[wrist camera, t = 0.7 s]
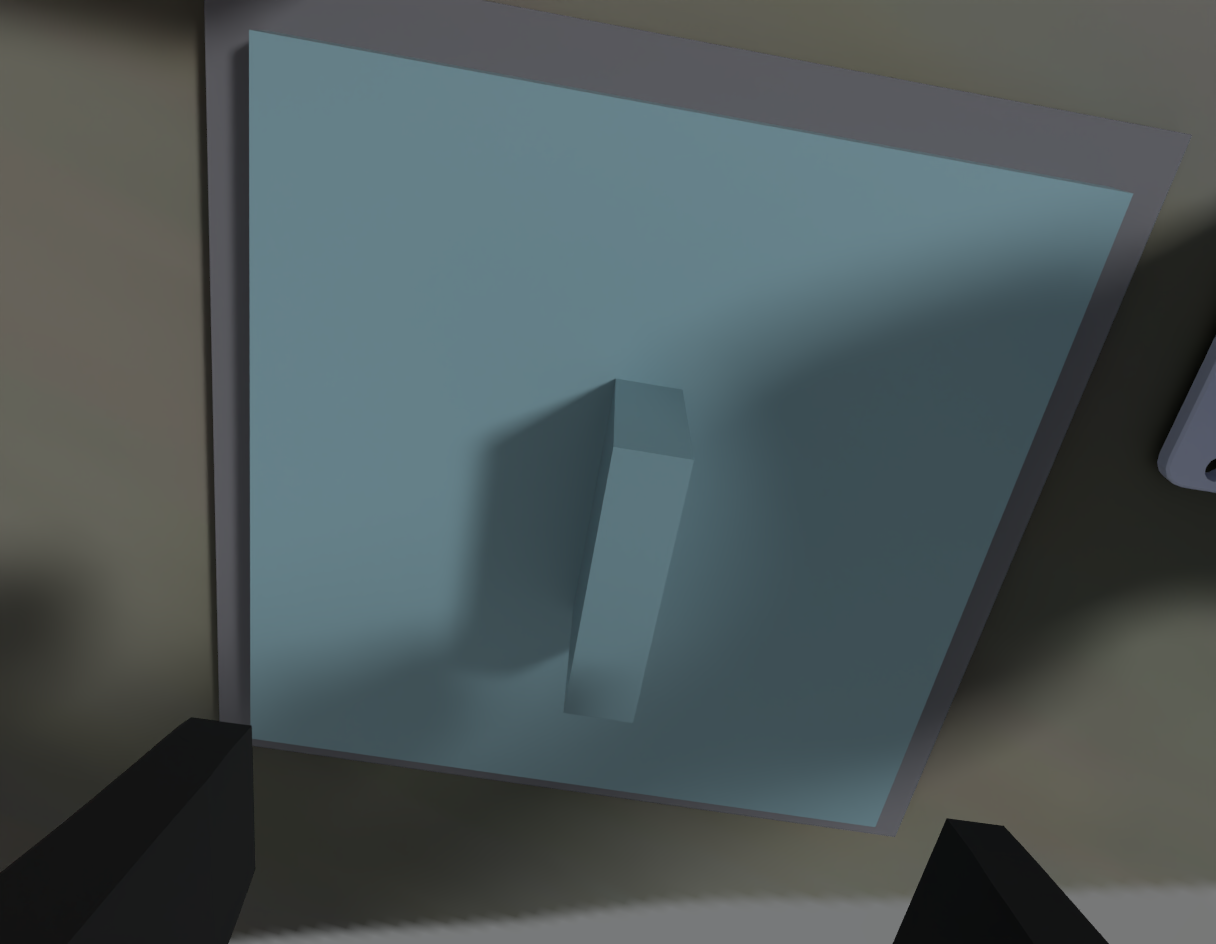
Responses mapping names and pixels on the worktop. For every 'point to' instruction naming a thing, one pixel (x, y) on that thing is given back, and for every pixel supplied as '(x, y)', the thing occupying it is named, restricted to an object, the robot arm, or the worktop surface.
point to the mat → (689, 78)
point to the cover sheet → (628, 425)
